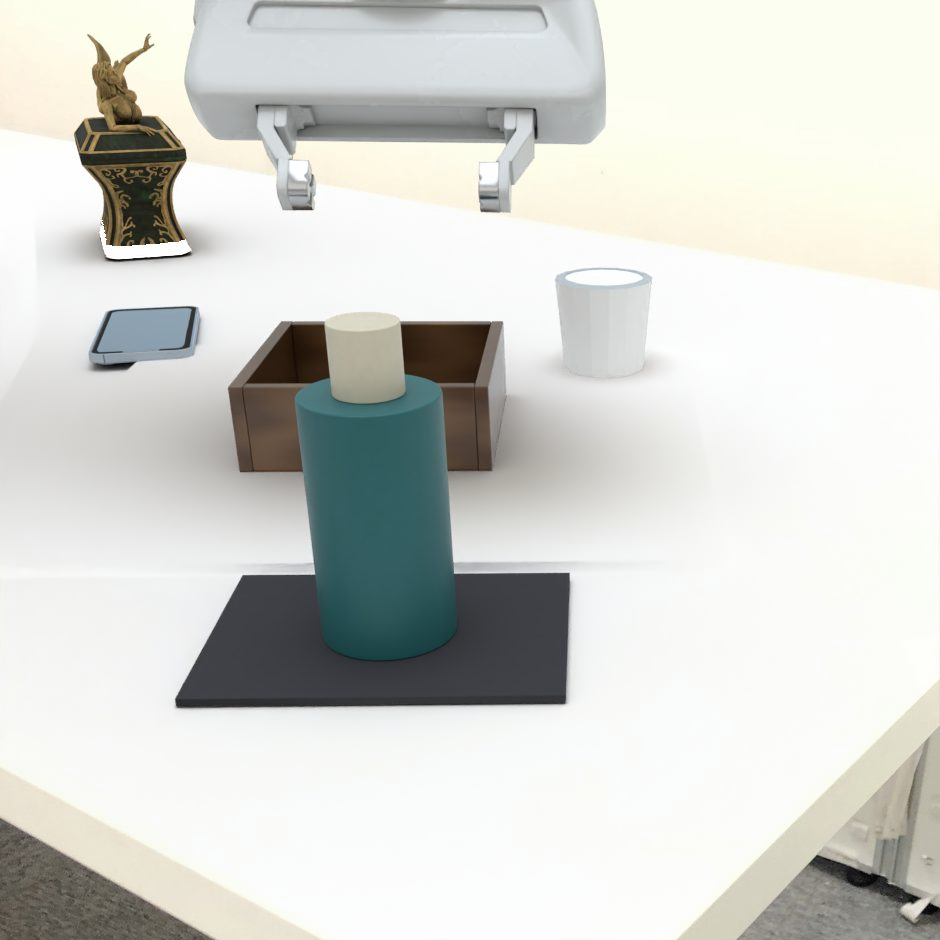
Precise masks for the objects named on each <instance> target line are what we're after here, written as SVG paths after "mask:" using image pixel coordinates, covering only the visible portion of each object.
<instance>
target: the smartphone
mask: <svg viewBox="0 0 940 940" xmlns="http://www.w3.org/2000/svg"><path fill="white" fill-rule="evenodd" d="M199 317H200V318H201V314H200V307H198V306H196V305H178V306H177V305H175V306H174V305H173V306H157V307H156V306H155V307H136V308H135V307H134V308H133V307H132V308H116V309H110V310H107V311H105V313H104V315H103V317H102V319H101V321H100V324H99V326H98V329H97V331H96V332H95V336H94V338H93V340H92V343H91V345H90V348H89V350H88V351H87V352H88V358H89V361H90V363H93V364H99V365H101V366H112V365H116V364H126V363H127V364H128V363H135V362H146V361H147V362H148V361H149V362H150V361H166V360H179V359H180V360H181V359H187V358H191V357H193V356H194V355H195V350H196V345H197V338H198V332H199V324H200V319H199Z"/></svg>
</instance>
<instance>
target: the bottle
mask: <svg viewBox="0 0 940 940" xmlns="http://www.w3.org/2000/svg"><path fill="white" fill-rule="evenodd" d="M324 321H325V323H324V324H325V334H326V343H327V353H328V363H329V372H330V378H328V379H325V380H321V381H318V382H315V383H312V384H310V385H308V386H306V387H304V388H302V389H301V390H300V391H299V392H298V393H297V394H296V396H295V408H296V416H297V425H298V433H299V442H300V450H301V459H302V467H303V472H302V475H303V483H304V484H303V485H304V493H305V500H306V509H307V518H308V525H309V534H310V542H311V552H312V559H313V560H312V561H313V568H314V574H315V577H316V586H317V594H318V603H319V611H320V620H321V628H322V637H323V639H324V641H325V643H326V644H327V646H328V647H330V648H331V649H332V650H334V651H335V652H337V653H339V654H341V655H344V656H347V657H351V658H355V659H361V660H370V661H391V660H400V659H406V658H411V657H416V656H419V655H422V654H426V653H428V652H431V651H433V650H435V649H437V648H439V647H441V646H442V645H444V644H445V643H447V642H448V641H449V640H450V639H451V638H452V637H453V635H454V634H455V632H456V629H457V613H456V597H455V581H454V574H455V567H454V566H455V565H454V553H453V550H454V549H453V534H452V521H451V506H450V491H449V488H450V487H449V474H448V472H449V471H447V456H446V441H445V425H444V409H443V394H442V390H441V388H440V387H439V385H437V384H436V383H434V382H433V381H430V380H428V379H425V378H421V377H417V376H413V375H406V374H404V362H403V349H402V336H401V324H400V321H401V319H400V318H399V317H398V316H397V315H394V314H391V313H387V312H381V311H380V312H379V311H356V312H347V313H341V314H338V315H334V316H331V317H329V318H327V319H325V320H324Z"/></svg>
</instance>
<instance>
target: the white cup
mask: <svg viewBox="0 0 940 940" xmlns="http://www.w3.org/2000/svg"><path fill="white" fill-rule="evenodd" d="M652 281H653V276H651V275H650V274H648V273H647V272H643V271H638V270H635V269H629V268H620V267H587V268H577V269H573V270H567V271H563V272H562V273H559V274H557V275H556V277H555V278H554V282H555V292H556V300H557V309H558V310H557V311H558V316H559V317H558V319H559V327H560V336H561V345H562V353H563V363H564V369H565V370H567V372H568V373H571V374H574V375H577V376H579V377H587V378H595V379H596V378H597V379H598V378H599V379H611V378H612V379H614V378H622V377H623V378H624V377H627V376H632V375H636V374H638V373H639V372H641V371H643V369H644V363H645V353H646V345H647V343H646V342H647V334H648V323H649V312H650V306H651V305H650V304H651V296H652V295H651V294H652V283H653V282H652Z"/></svg>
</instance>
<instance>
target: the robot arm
mask: <svg viewBox="0 0 940 940" xmlns="http://www.w3.org/2000/svg"><path fill="white" fill-rule="evenodd" d="M193 7H194V8H193V16H192V18H193V25H194V29H193V31H192V36H191V38H190V42H189V47H188V53H187V55H186V56H187V57H186V62H185V68H184V75H183V82H184V88H185V91H186V96H187V99H188V101H189V104H190V106H191V108H192V111H193V113H194V114H195V117H196V119H197V120H198V122H199V123H200V124H201V125H202V127H203V129H204V130H206V131H207V132H208V134H209V135H210V136H211V137H212V138H214V139H216V140H219V141H253V142H254V141H258V142H259V141H261V143H262V145H263V148H264V150H265V154H266V156H267V157H268V160H269V162H271V164H272V166H273V168H274V169H275V171H276V184H275V189H276V197H277V199H278V202H279V204H280V207H281V209H282V211H293V212H294V211H315V208H316V202H315V196H316V194H317V181H316V177H315V175H314V174H313V173H312V172H313V168H312V165H311V162H310V160H309V159H293V158H292V156H293V155H295V154H296V151H297V142H344V143H345V142H346V143H349V142H350V143H353V142H355V143H357V142H358V143H432V144H434V143H435V144H438V143H439V144H440V143H441V144H442V143H443V144H445V143H446V144H448V143H449V144H505V147H504V148H503V150H502V151H501V153H500V154H499V156H497V157H498V158H497V159H496V160H495V161H479V162H478V180H479V181H478V187H477V188H478V191H477V192H478V203H479V210H480V213H493V214H495V213H496V214H497V213H498V214H501V213H502V214H503V213H504V214H509V213H510V214H511V213H512V192H513V191H512V190H513V189H512V187H513V186H515V185H516V184H517V182H518V181H519V179H520V178H521V177H522V176H523V174H524V173H525V171H527V169H528V167H529V166H530V164H532V163H533V160H534V159H535V153H536V152H535V150H536V149H535V148H536V145H589V144H591V143H593V141H594V140H595V139H597V137H598V136H599V135H600V134H601V133H602V132H603V131H604V130H605V127H606V123H607V81H606V80H607V78H606V77H607V75H606V62H605V52H604V43H603V37H602V36H603V35H602V30H601V24H600V19H599V15H598V10H597V6H596V2H595V0H194V6H193Z"/></svg>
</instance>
